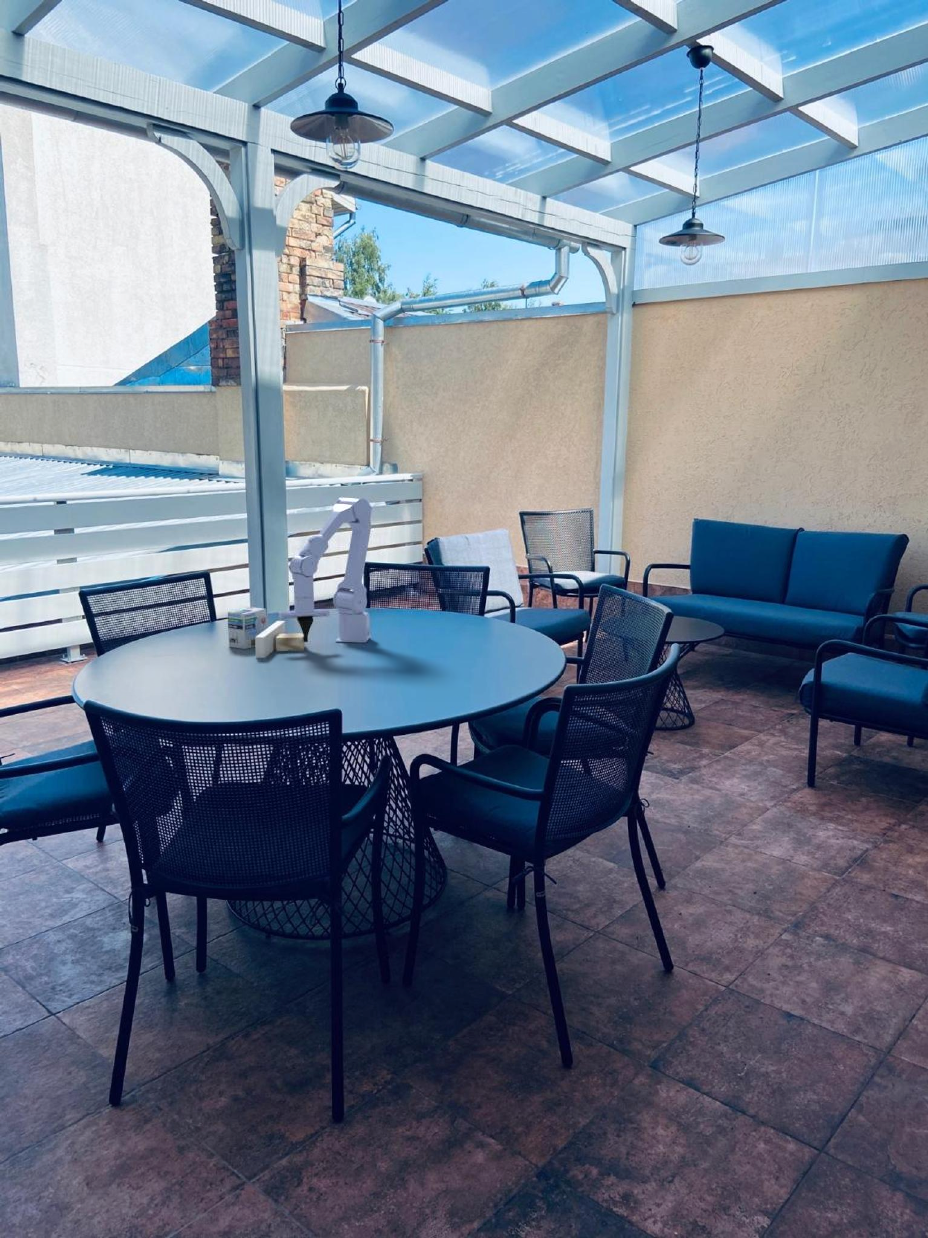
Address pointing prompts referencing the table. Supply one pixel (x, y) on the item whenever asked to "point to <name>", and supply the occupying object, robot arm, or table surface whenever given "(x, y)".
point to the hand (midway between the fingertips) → (305, 641)
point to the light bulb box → (245, 626)
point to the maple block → (290, 642)
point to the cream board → (268, 639)
